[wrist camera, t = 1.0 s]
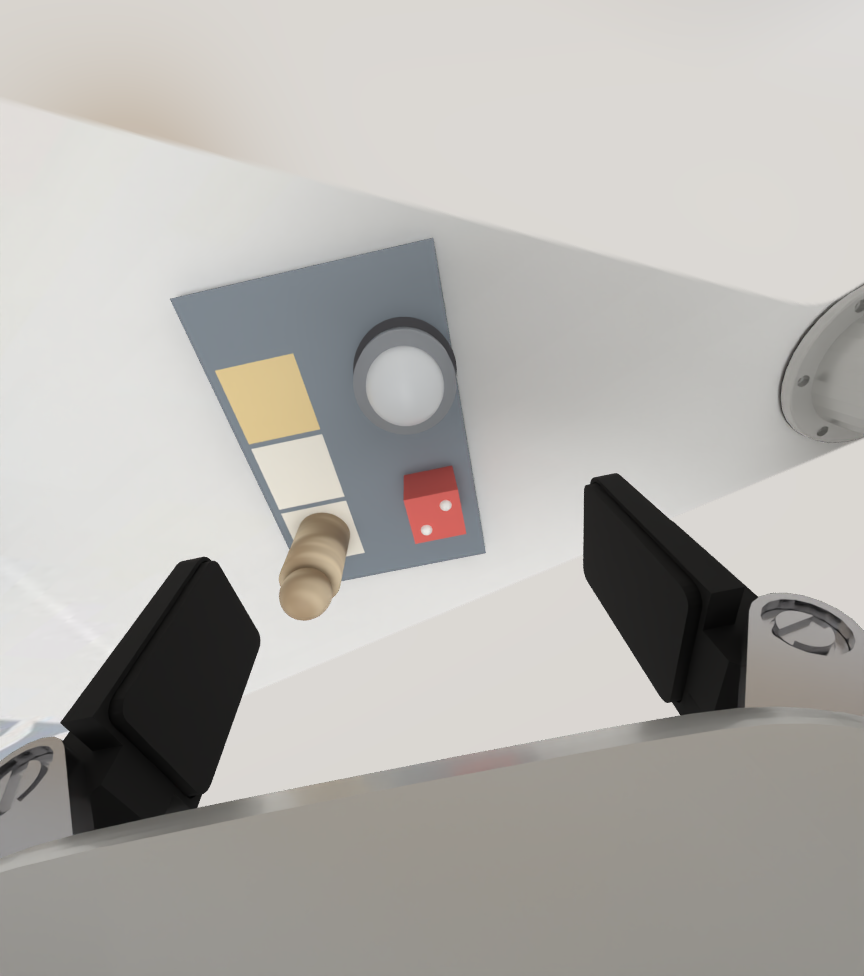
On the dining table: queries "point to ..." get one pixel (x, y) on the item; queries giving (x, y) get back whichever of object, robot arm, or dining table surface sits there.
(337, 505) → the board
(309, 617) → the pawn
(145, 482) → the dining table surface
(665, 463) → the dining table surface
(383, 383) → the dome
